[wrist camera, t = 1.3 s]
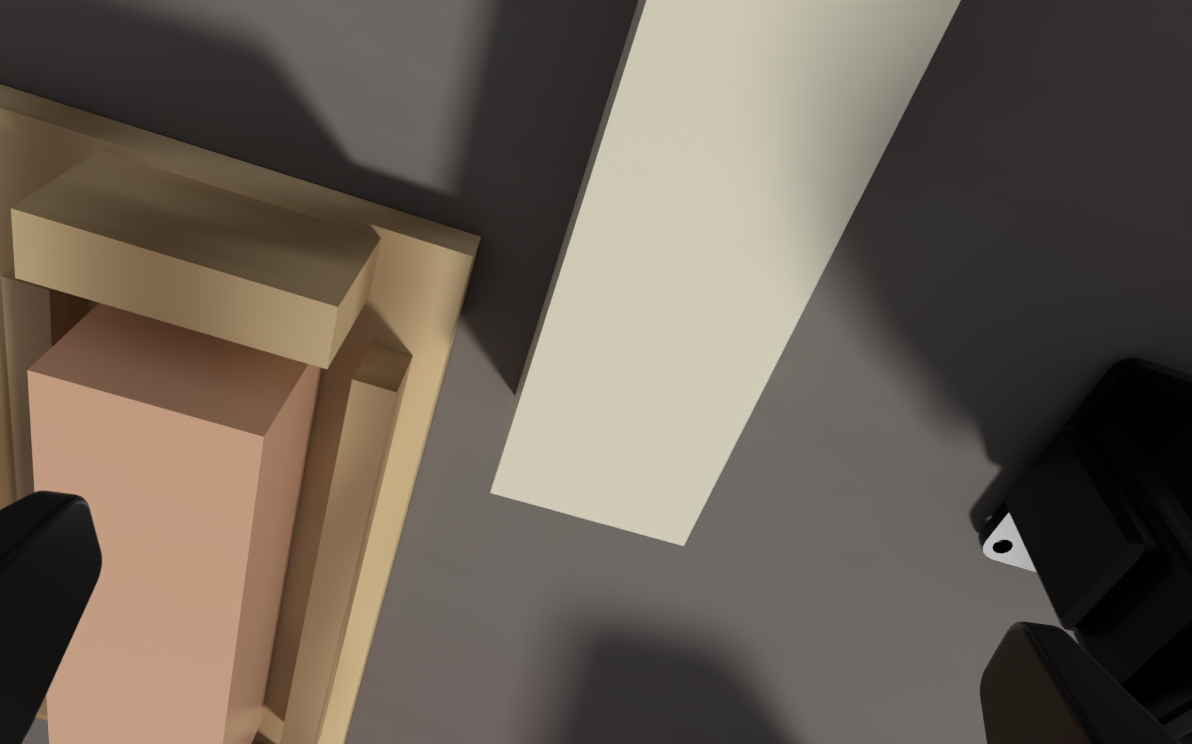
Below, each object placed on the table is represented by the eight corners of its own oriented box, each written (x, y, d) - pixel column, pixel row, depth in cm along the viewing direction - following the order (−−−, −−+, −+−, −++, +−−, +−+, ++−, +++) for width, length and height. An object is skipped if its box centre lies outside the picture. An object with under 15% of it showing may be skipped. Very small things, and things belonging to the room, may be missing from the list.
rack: (481, 236, 20) (443, 328, 17) (339, 761, 32) (301, 874, 29) (-483, -69, 18) (-745, -33, 15) (-248, 619, 30) (-361, 724, 27)
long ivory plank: (1017, -291, 15) (1118, -311, 11) (682, 436, 23) (683, 546, 20) (760, -393, 14) (787, -444, 11) (516, 388, 23) (490, 492, 20)
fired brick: (329, 330, 21) (263, 437, 17) (261, 720, 29) (209, 840, 26) (132, 272, 20) (27, 370, 17) (123, 686, 29) (52, 804, 26)
